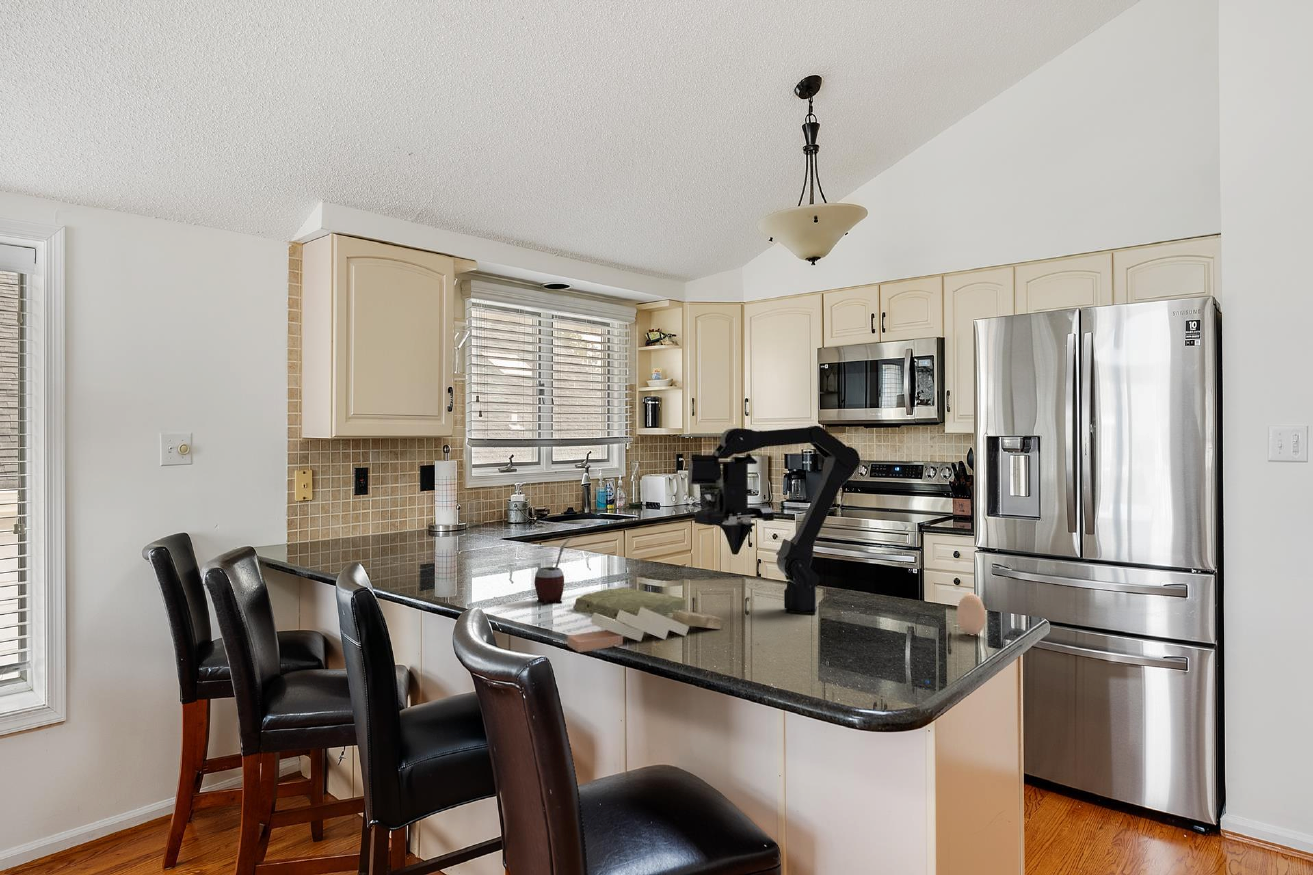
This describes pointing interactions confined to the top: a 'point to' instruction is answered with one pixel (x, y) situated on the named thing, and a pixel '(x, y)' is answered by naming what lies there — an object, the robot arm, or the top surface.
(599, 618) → the domino
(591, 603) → the olive green slab
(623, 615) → the domino
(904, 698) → the top surface
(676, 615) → the domino
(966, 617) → the egg
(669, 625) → the domino
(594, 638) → the domino
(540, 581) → the mate gourd
